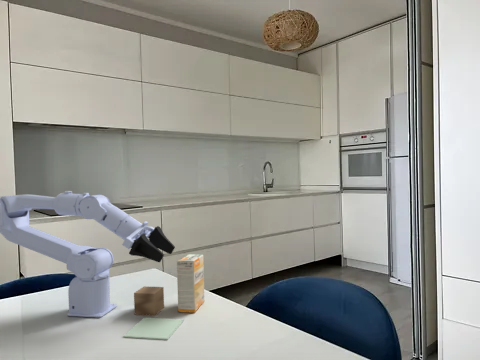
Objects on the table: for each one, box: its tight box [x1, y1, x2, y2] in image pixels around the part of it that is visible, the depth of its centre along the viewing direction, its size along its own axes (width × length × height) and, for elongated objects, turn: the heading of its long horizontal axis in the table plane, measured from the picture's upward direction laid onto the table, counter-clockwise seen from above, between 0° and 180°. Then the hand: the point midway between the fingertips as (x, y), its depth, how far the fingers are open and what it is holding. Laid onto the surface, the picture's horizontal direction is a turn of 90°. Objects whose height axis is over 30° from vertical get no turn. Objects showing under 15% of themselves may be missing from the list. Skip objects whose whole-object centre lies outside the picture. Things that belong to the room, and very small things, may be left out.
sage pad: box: [123, 317, 185, 341], centre depth 80 cm, size 10×10×1 cm
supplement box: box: [176, 253, 205, 314], centre depth 93 cm, size 8×5×13 cm, turn 168°
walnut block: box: [133, 285, 165, 317], centre depth 91 cm, size 6×6×6 cm
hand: (167, 254), depth 89 cm, fingers open, 7 cm apart
